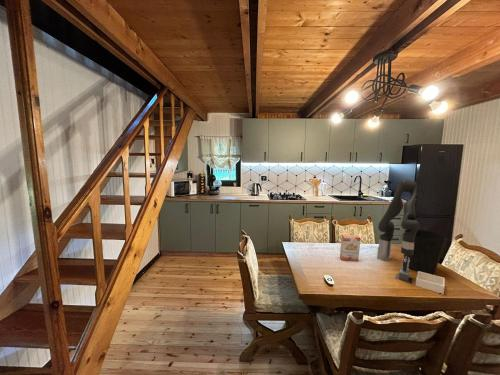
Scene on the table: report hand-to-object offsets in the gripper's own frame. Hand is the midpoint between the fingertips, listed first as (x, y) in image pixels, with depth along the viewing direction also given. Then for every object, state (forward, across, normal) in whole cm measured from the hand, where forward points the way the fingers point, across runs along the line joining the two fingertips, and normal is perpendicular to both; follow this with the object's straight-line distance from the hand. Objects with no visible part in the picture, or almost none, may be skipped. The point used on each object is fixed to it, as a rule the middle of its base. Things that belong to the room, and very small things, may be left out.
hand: (404, 269), depth 173 cm
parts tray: (+7, -1, +15) cm, 17 cm away
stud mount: (+7, 0, 0) cm, 7 cm away
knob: (+6, 0, 0) cm, 6 cm away
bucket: (+7, -29, +8) cm, 31 cm away
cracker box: (+7, -8, -41) cm, 42 cm away
